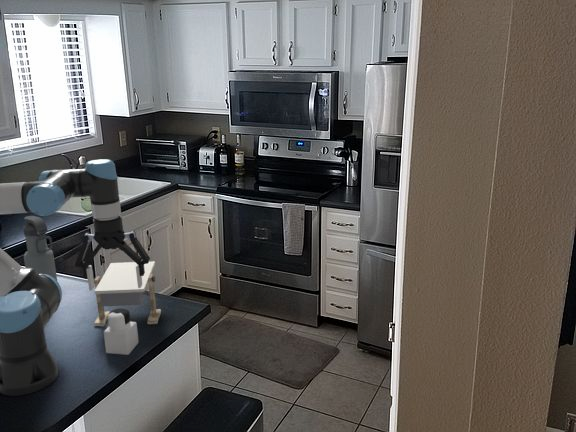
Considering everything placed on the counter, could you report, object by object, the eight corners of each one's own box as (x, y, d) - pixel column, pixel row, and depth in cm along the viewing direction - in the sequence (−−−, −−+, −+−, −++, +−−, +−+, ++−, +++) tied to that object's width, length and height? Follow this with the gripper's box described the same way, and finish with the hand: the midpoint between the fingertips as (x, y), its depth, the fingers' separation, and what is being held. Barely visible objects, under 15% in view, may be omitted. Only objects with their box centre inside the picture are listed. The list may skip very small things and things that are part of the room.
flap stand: (157, 323, 176) (153, 281, 171) (94, 326, 175) (88, 283, 170) (161, 312, 183) (157, 271, 179) (101, 315, 182) (95, 273, 178)
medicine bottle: (117, 341, 166) (112, 305, 162) (139, 342, 165) (135, 306, 161) (105, 353, 159) (100, 316, 156) (128, 355, 158) (124, 318, 155)
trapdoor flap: (145, 304, 171) (143, 289, 169) (96, 306, 170) (94, 291, 168) (156, 275, 190) (154, 261, 189) (112, 277, 189) (110, 263, 188)
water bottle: (64, 288, 203) (53, 216, 195) (40, 298, 195) (28, 224, 187) (48, 282, 208) (37, 212, 200) (24, 292, 201) (11, 219, 192)
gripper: (155, 210, 154) (162, 279, 160) (65, 214, 153) (75, 283, 159) (150, 218, 147) (158, 290, 153) (56, 222, 146) (67, 295, 152)
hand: (116, 287), depth 156 cm, fingers open, 13 cm apart
